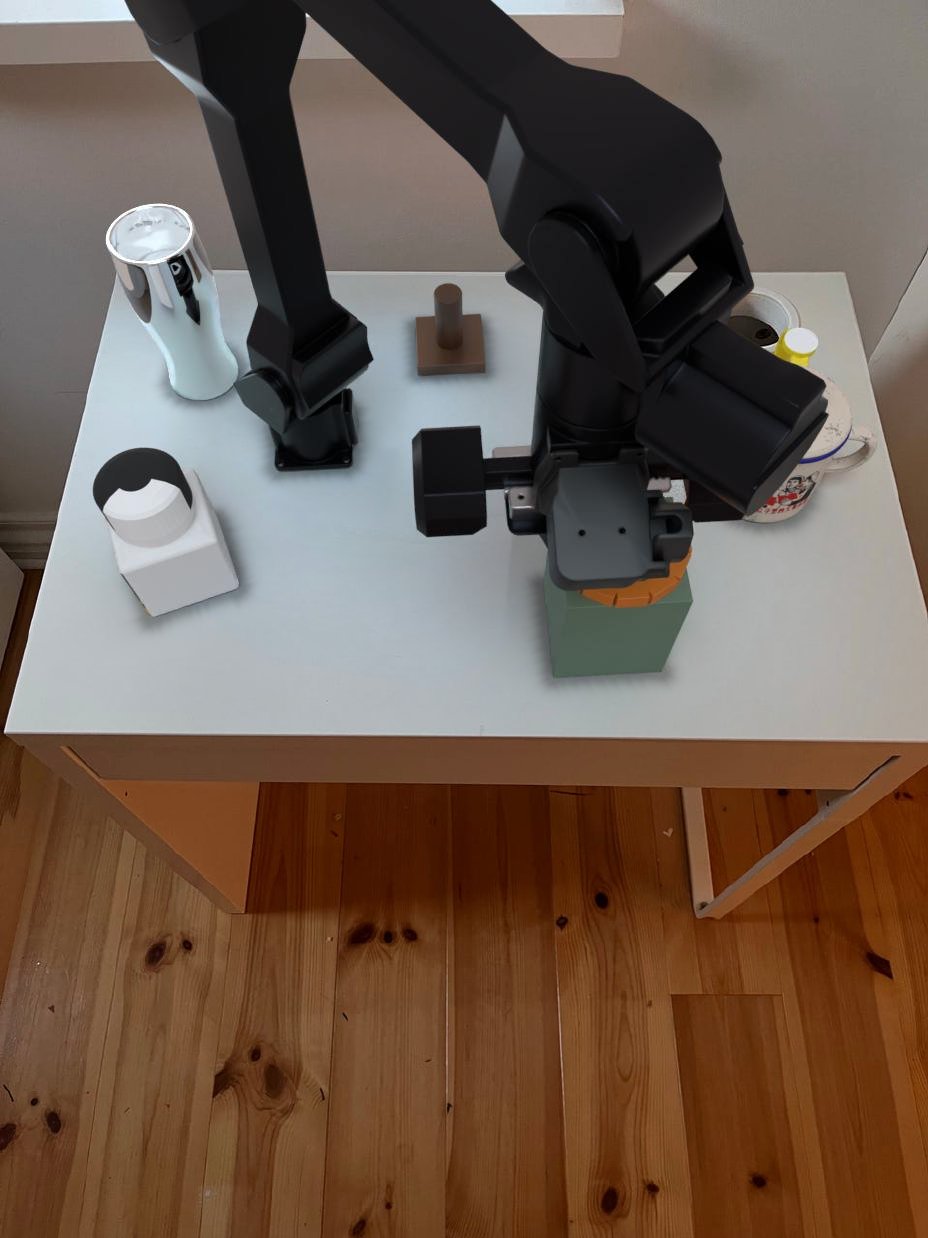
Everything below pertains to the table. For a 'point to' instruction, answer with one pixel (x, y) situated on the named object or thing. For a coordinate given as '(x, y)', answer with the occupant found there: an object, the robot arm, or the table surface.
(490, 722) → the table surface
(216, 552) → the medicine bottle
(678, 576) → the ring
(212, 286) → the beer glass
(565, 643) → the block
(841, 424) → the teacup with lid
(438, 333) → the stand
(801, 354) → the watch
